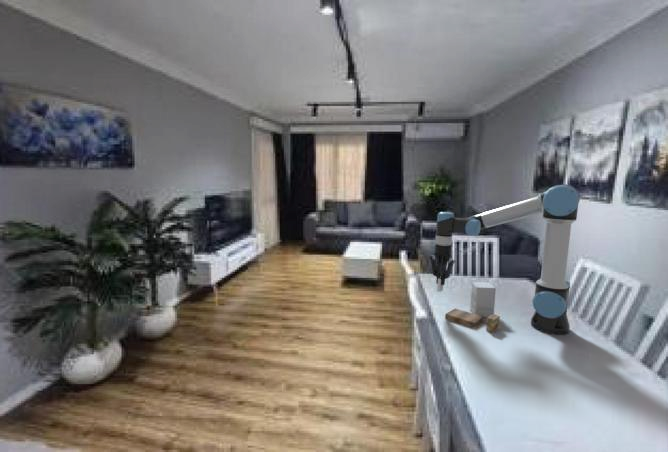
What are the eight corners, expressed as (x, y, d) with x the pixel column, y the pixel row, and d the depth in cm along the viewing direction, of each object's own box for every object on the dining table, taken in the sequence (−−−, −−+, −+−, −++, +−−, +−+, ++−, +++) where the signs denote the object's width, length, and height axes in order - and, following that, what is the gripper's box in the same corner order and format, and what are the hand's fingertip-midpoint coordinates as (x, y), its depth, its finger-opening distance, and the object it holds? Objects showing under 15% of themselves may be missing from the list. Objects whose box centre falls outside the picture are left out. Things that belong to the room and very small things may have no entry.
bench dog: (498, 328, 164) (499, 316, 163) (492, 332, 160) (493, 319, 159) (491, 326, 166) (493, 314, 166) (486, 330, 162) (487, 317, 161)
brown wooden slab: (482, 322, 172) (483, 316, 171) (473, 329, 165) (474, 322, 164) (454, 314, 181) (455, 308, 181) (445, 319, 174) (445, 314, 174)
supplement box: (488, 310, 185) (490, 282, 183) (493, 318, 176) (496, 288, 174) (469, 310, 186) (471, 281, 184) (474, 317, 177) (476, 287, 175)
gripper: (459, 245, 175) (455, 292, 179) (435, 240, 184) (432, 285, 188) (451, 247, 170) (447, 296, 174) (427, 242, 179) (424, 289, 183)
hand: (439, 290), depth 181 cm, fingers closed
